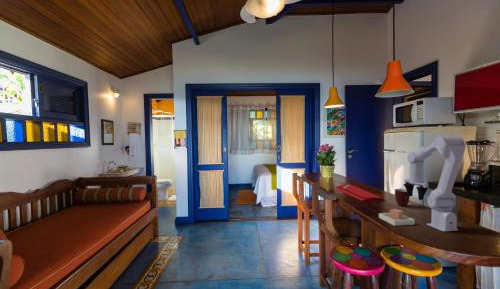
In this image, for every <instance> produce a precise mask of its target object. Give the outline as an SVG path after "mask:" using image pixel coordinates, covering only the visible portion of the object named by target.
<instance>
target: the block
mask: <svg viewBox="0 0 500 289" xmlns="http://www.w3.org/2000/svg"><path fill="white" fill-rule="evenodd" d="M389 213H390V218H392V219H394V220H403V215H404V210H400V209H397V208H392V209H389Z"/></svg>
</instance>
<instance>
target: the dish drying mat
mask: <svg viewBox="0 0 500 289" xmlns="http://www.w3.org/2000/svg"><path fill="white" fill-rule="evenodd" d="M334 189H335V190H337V191H339V192H341V193H343V194H346V195H347V196H350V197H352V198H354V199H356V200H359V201H361V202H384V200H385V199H384V198H382V196H379V195H377V194H375V193H371V192H370V191H369V192H368V191H367V190H364V189H362V188H360V187H357V186H355V185H352V184H341V185H337V186H335V188H334Z"/></svg>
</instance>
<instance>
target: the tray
mask: <svg viewBox="0 0 500 289" xmlns="http://www.w3.org/2000/svg"><path fill="white" fill-rule="evenodd" d="M378 219H380V220H382V221H384V222H386V223H388V224H389V225H392V226H393V227H398V226H399V227H400V226H413V225H414V226H415V225H416V224H415V223H416V220H415V219H414V218H412V217H409V216H407V215H404V214H403V220H394V219H392V218H390V212H382V213H381V212H380V213H378Z"/></svg>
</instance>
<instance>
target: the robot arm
mask: <svg viewBox="0 0 500 289" xmlns="http://www.w3.org/2000/svg"><path fill="white" fill-rule="evenodd" d="M466 146H467V143H466V141H465V140H464V138H463V137H462V136H438V137H436V138H434V139H433V142H432V143H430V144H429V145H426V146H424V145H422V146H420V148H419V149H417V150H415V151H409V153H408V154H407V157H406V158H407V161H408V162H409V179H407V178H406V179H403V180H404V184H403V186H404V187H405V188H404V189H406V190H407V194H408V196H410V197H413V192H414V188H416V190H417V197H418V200H419V201H423V200H424V198H425V194H426V193H427V192H428V190H429V184H428V183H426V182H424V181H423V166H424V163H425V160H426V159H428V158H429V157H431V156H432V154H433V153H434V152H436V151H438V153H439V154H440V155H441V156H442V157H443V158H445V161H444V165H443V167H442V171H441V174H440V177H439V181H438V184H437V187H436V188H435V189H433V190H431V191H430V194H429V195H428V196H427V198H426V201H427V205H428V206H429V208H430V209H431V218H430V219H431V222H429V223H428V222H427V223H426V225H427V226H429V227H431V228H434V229H436V230H439V231H441V232H452V231H453V232H454V231H455V232H456V231H459V229H458V228H457V225H458V224H457V223H458V222H457V221H458V217H457V215H456V214H455V212H453V211H452V210H453V209H454V207H456V198H457V196H456V194H454V192H452V191H453V187H454V184H455V182H456V179H457V175H458V172H459V169H460V167H461V164H462V161H463V156H464V152H465V149H466ZM415 186H416V187H415Z"/></svg>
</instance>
